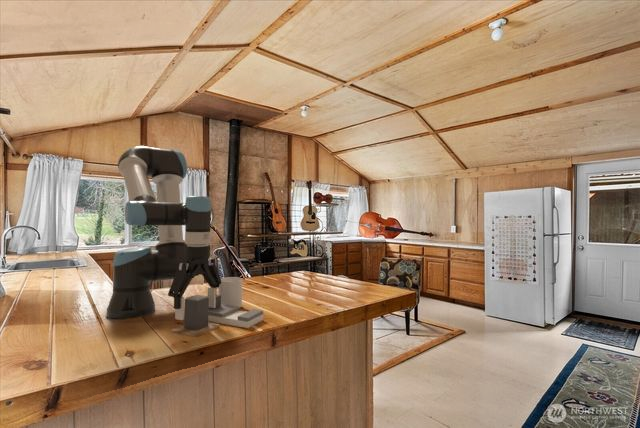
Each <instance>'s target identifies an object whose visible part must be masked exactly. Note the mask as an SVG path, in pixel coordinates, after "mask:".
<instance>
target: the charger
mask: <svg viewBox="0 0 640 428" xmlns="http://www.w3.org/2000/svg"><path fill="white" fill-rule="evenodd" d="M208 311H209V297H208V295H200V294H195V295H191V296H188V297H185V298H184V320H183V325H184V328H185V329H190V330H195V331H197V330H200V329H202V328H204V327H207V326H208V322H209V321H208Z"/></svg>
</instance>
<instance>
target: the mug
mask: <svg viewBox="0 0 640 428" xmlns="http://www.w3.org/2000/svg"><path fill="white" fill-rule="evenodd" d="M220 279H221V284H219V285H220V286H219V288H218V291H217V295H221V304H223V305H230V306H236V307H239V309H240V308H241V307H242V306H243V278H241V277H237V276H231V277H230V276H229V277H228V276H227V277H221V278H220Z"/></svg>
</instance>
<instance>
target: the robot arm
mask: <svg viewBox="0 0 640 428" xmlns="http://www.w3.org/2000/svg"><path fill="white" fill-rule="evenodd" d="M187 168H188V163H187V160H186V157H185V155H184V154H183V152H181V151H180V150H174V149H171V148H170V149H167V148H158V147H151V146H144V145H138V146H134V147H132V148H131V147H130V148H129V149H127V150H126V151H124V152H123V153H122V154H121V156H120V157H119V159H118V161H117V169H118V172H119V173H120V175H121V176H122V177H123V179H124V183H125V187H126V192H127V196H128V199H129V201H127V202H126V203H125V207H124V220H125V222H126V224H127V225H129V226H139V227H144V226H146V227H147V226H158V239H159V241H158V242H157V243H156V244H155V248H154V249H152V248H151V246H146V245H145V246H135V247H129V248H124V249H121V250H117V251H116V252H115V253H114V255H113V263H112V267H113V269H112V270H113V273H112V274H113V277H112V295H111V296H110V299H109V302H108V305H107V308H106V317H108V318H110V319H116V320H118V319H120V320H121V319H123V320H124V319H133V318H139V317H144V316H146V315H149V314H152V313H154V312H155V311H156V303H155V301H154V297H153V295H152V292H151V282H160V281H167V280H172V283H171V285H170V288H169V291H168V293H167V296H168V297H171V298H173V308H174V314H175V315H174V319H175V320H178V321H184V310H185V296H184V294H185V292H186V290H187V289H188V287H189V286H190V283H191V282H192V280H193V279H194V278H195V277H197V276H198V277H199V276H200V275H201V276H202V277H203V279H204V280H205V281H206V282H207V284H208V286H209V287H207V296H208V297H209V307H210V308H216V295H217V294H218V291H217V288H219V286H220V285H219V284H221V278H220V274H219V271H218V268H217V266H216V258H213V257H211V246H210V244H211V230H212V229H211V228H212V227H211V223H212V209H213V208H212V200H211V198H210V196H203V195H188V196H187V197H185V202H181V192H180V189H181V188H180V184H181V183H183V181H184V180H183V179H185V178H186V177H187V172H188V170H187ZM149 177H151V182H152V183H153V184H155V185H156V188H155V189H156V196H155V193H154V190H153V187H152V184H151V182H150V178H149ZM183 226H185V227H184V232H183ZM183 233H184V234H183Z"/></svg>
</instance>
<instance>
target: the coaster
mask: <svg viewBox="0 0 640 428" xmlns="http://www.w3.org/2000/svg"><path fill="white" fill-rule="evenodd" d="M220 326H221V323H215V322H210V321H208V326H207V327H204V328H202V329H200V330H197V331H195V330H190V329H185V328H184V324H183V325H180V326H177V327H175V328H172V329H171V333H174V334H175V333H176V334H182V335H186V336H189V337H190V336H191V337H196V338H197V337H200V336H201V335H204V334H207V333H209V332H210V331H213V330H215V329H217V328H219V327H220Z"/></svg>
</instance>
